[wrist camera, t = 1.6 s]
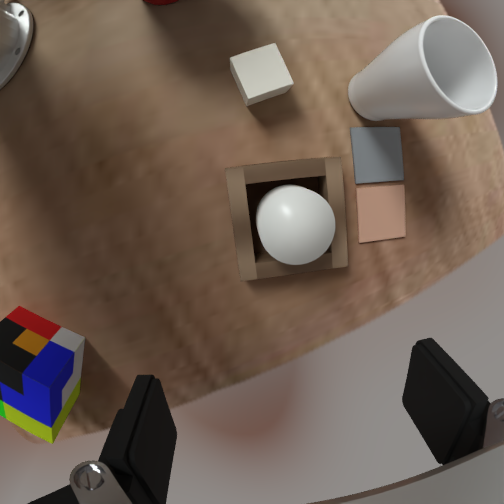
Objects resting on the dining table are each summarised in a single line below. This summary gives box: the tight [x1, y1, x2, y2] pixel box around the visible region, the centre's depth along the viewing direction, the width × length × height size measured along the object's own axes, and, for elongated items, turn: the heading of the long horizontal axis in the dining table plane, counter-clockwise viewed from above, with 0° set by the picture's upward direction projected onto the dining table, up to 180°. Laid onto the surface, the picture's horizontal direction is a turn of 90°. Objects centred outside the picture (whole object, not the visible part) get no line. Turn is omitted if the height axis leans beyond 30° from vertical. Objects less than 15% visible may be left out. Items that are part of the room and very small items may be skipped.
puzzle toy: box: [0, 306, 85, 444], centre depth 29 cm, size 10×10×10 cm
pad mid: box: [350, 127, 404, 184], centre depth 29 cm, size 6×6×1 cm
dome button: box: [255, 184, 335, 265], centre depth 27 cm, size 6×6×4 cm
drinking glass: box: [348, 15, 497, 121], centre depth 21 cm, size 7×7×15 cm
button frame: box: [225, 157, 348, 281], centre depth 29 cm, size 10×10×3 cm
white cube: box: [230, 43, 294, 107], centre depth 25 cm, size 4×4×4 cm
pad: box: [355, 185, 405, 243], centre depth 31 cm, size 6×6×1 cm
